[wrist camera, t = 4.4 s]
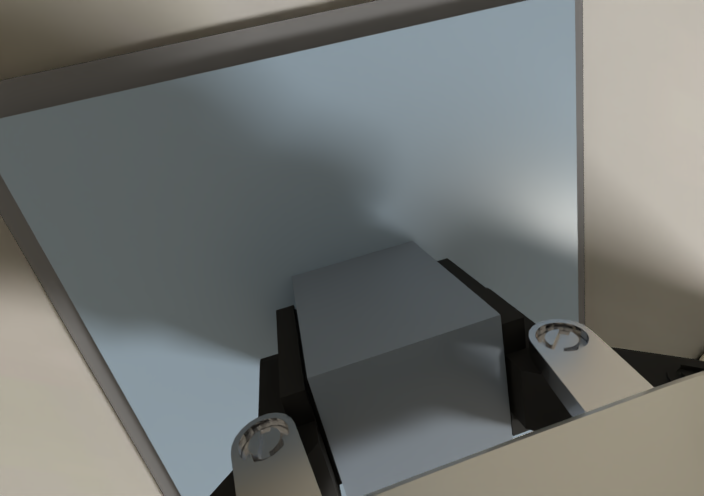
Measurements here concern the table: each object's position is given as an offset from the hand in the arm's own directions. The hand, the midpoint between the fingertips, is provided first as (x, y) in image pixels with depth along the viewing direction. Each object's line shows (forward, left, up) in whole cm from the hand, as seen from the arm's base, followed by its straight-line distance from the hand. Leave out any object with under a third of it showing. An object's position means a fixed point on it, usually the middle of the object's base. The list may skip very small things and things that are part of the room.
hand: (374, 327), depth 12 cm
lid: (0, 0, -2) cm, 2 cm away
